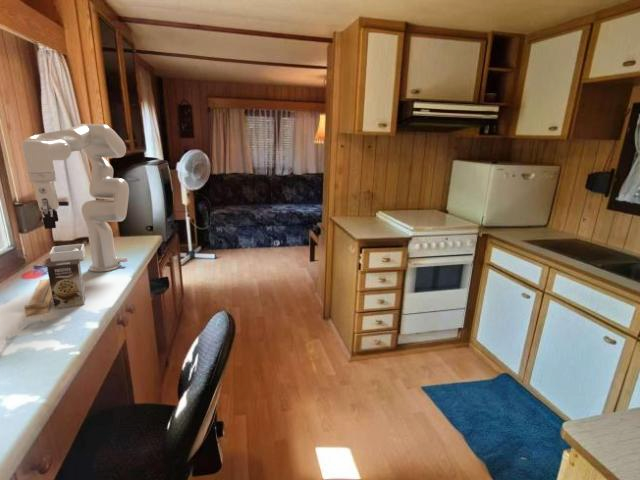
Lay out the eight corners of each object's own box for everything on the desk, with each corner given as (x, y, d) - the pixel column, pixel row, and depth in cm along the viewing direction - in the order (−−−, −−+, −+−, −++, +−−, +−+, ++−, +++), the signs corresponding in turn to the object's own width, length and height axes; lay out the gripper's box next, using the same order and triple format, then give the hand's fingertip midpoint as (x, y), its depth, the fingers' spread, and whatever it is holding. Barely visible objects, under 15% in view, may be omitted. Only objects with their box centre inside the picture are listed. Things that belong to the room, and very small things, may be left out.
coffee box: (54, 309, 126) (45, 267, 121) (57, 302, 131) (49, 261, 127) (84, 305, 130) (77, 263, 126) (86, 298, 136) (79, 258, 131)
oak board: (59, 282, 149) (57, 274, 148) (48, 313, 124) (46, 303, 123) (41, 284, 146) (39, 276, 145) (26, 316, 121) (24, 307, 120)
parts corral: (85, 252, 185) (83, 243, 184) (83, 259, 175) (82, 250, 174) (54, 256, 179) (53, 246, 178) (51, 263, 169) (49, 253, 168)
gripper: (53, 180, 118) (62, 229, 123) (57, 173, 132) (66, 218, 137) (24, 181, 114) (35, 232, 119) (32, 174, 128) (42, 220, 133)
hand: (52, 224), depth 128 cm, fingers open, 9 cm apart
